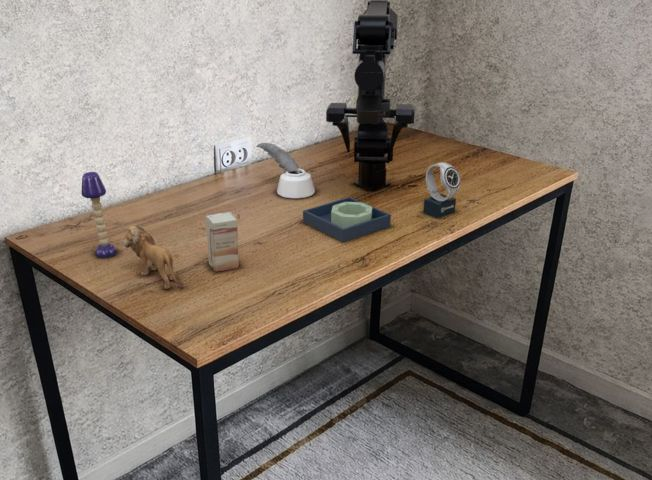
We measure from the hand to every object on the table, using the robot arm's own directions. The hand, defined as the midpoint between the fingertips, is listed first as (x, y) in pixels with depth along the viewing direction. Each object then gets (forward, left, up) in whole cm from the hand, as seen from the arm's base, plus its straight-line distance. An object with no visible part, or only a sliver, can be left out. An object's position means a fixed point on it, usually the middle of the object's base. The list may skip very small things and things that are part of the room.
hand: (369, 152), depth 170 cm
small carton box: (+7, -43, -12) cm, 45 cm away
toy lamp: (-13, -59, -12) cm, 62 cm away
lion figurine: (+3, -56, -12) cm, 57 cm away
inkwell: (-21, -9, -12) cm, 26 cm away
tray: (+6, -11, -12) cm, 18 cm away
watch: (+14, +9, -12) cm, 21 cm away
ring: (+7, -11, -12) cm, 17 cm away
